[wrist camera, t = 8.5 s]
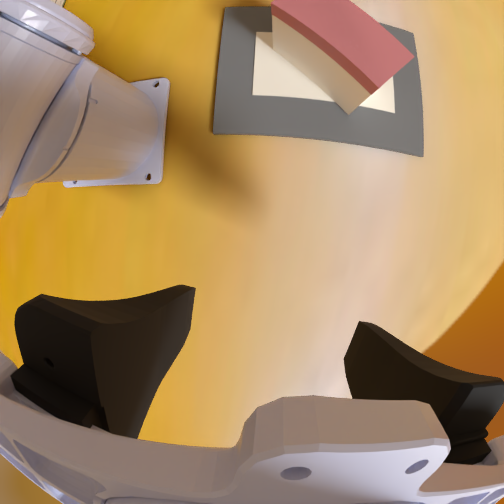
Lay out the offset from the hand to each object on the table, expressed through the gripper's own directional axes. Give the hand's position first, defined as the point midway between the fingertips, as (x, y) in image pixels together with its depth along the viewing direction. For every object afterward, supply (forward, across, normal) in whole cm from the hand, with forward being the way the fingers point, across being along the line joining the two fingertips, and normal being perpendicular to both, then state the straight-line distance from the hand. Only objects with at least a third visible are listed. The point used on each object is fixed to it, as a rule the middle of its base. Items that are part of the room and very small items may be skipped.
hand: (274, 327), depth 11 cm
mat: (+8, -1, -15) cm, 17 cm away
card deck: (+8, -1, -15) cm, 17 cm away
